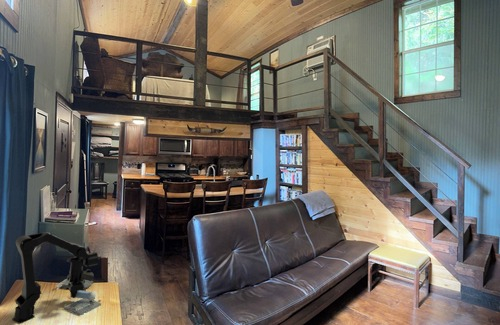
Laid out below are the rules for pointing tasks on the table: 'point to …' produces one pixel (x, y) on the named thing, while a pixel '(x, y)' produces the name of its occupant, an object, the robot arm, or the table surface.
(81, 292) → the lever
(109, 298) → the table surface
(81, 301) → the lid
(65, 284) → the graphics card
